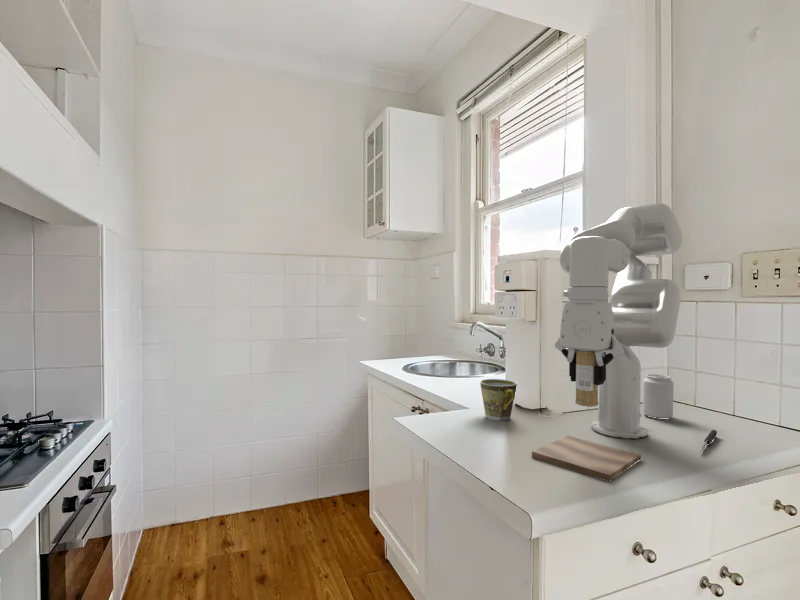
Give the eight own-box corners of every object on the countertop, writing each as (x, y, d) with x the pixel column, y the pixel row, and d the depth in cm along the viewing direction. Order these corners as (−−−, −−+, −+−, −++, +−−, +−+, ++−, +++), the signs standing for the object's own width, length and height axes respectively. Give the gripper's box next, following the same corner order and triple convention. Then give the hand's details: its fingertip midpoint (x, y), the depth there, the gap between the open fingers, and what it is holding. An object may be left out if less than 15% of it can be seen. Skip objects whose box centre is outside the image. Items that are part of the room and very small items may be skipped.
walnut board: (567, 440, 101) (567, 435, 101) (641, 460, 89) (641, 454, 89) (531, 456, 91) (531, 451, 91) (609, 481, 79) (609, 475, 79)
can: (679, 420, 119) (679, 378, 119) (652, 420, 119) (652, 377, 119) (662, 413, 127) (663, 373, 127) (637, 413, 127) (638, 372, 127)
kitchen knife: (712, 437, 106) (712, 429, 106) (717, 438, 105) (716, 430, 105) (697, 456, 93) (697, 447, 93) (703, 457, 92) (703, 448, 92)
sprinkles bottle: (602, 405, 89) (603, 341, 89) (590, 408, 87) (590, 342, 87) (583, 400, 93) (583, 339, 93) (570, 403, 91) (571, 340, 91)
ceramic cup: (473, 414, 124) (474, 379, 124) (504, 411, 127) (504, 378, 127) (497, 427, 111) (497, 389, 111) (529, 424, 114) (530, 387, 114)
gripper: (542, 295, 94) (541, 378, 94) (623, 295, 81) (622, 391, 81) (559, 296, 99) (558, 374, 99) (638, 296, 86) (636, 386, 86)
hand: (587, 381), depth 90 cm, fingers closed on sprinkles bottle, 4 cm apart
